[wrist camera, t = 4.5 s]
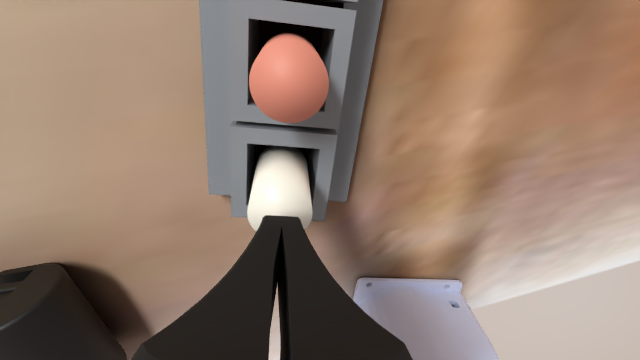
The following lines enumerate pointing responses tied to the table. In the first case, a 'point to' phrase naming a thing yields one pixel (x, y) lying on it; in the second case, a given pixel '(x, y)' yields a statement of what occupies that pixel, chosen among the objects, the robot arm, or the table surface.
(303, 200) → the ivory plug
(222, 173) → the socket strip
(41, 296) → the end cap
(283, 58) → the salmon rounded peg
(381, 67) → the table surface
